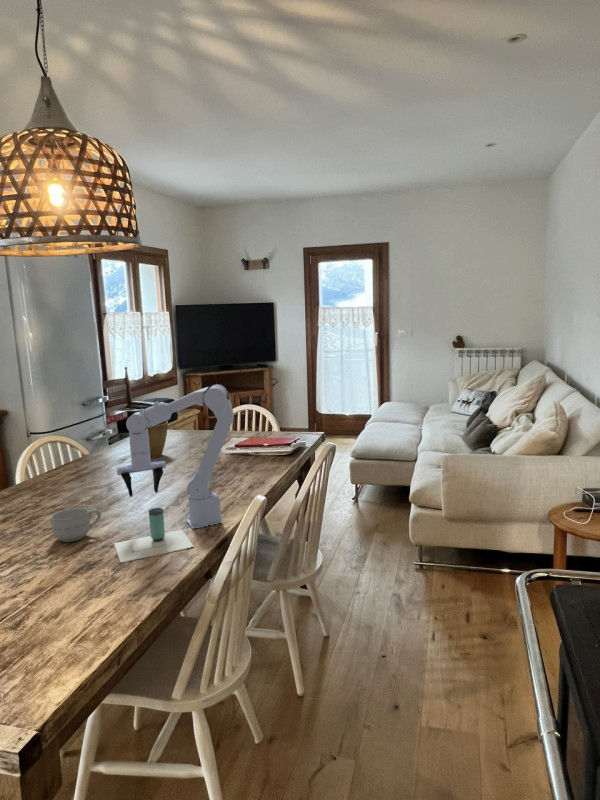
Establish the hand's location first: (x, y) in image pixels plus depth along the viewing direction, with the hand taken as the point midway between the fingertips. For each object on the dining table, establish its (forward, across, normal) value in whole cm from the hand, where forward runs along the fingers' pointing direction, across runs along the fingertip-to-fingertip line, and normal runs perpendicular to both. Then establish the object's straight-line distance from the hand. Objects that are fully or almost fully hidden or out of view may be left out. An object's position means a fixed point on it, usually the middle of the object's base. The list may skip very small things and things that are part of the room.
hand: (143, 493), depth 174 cm
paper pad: (+10, +1, +17) cm, 20 cm away
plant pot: (+11, -20, -87) cm, 90 cm away
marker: (+10, -1, +14) cm, 17 cm away
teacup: (+11, +20, -1) cm, 23 cm away
